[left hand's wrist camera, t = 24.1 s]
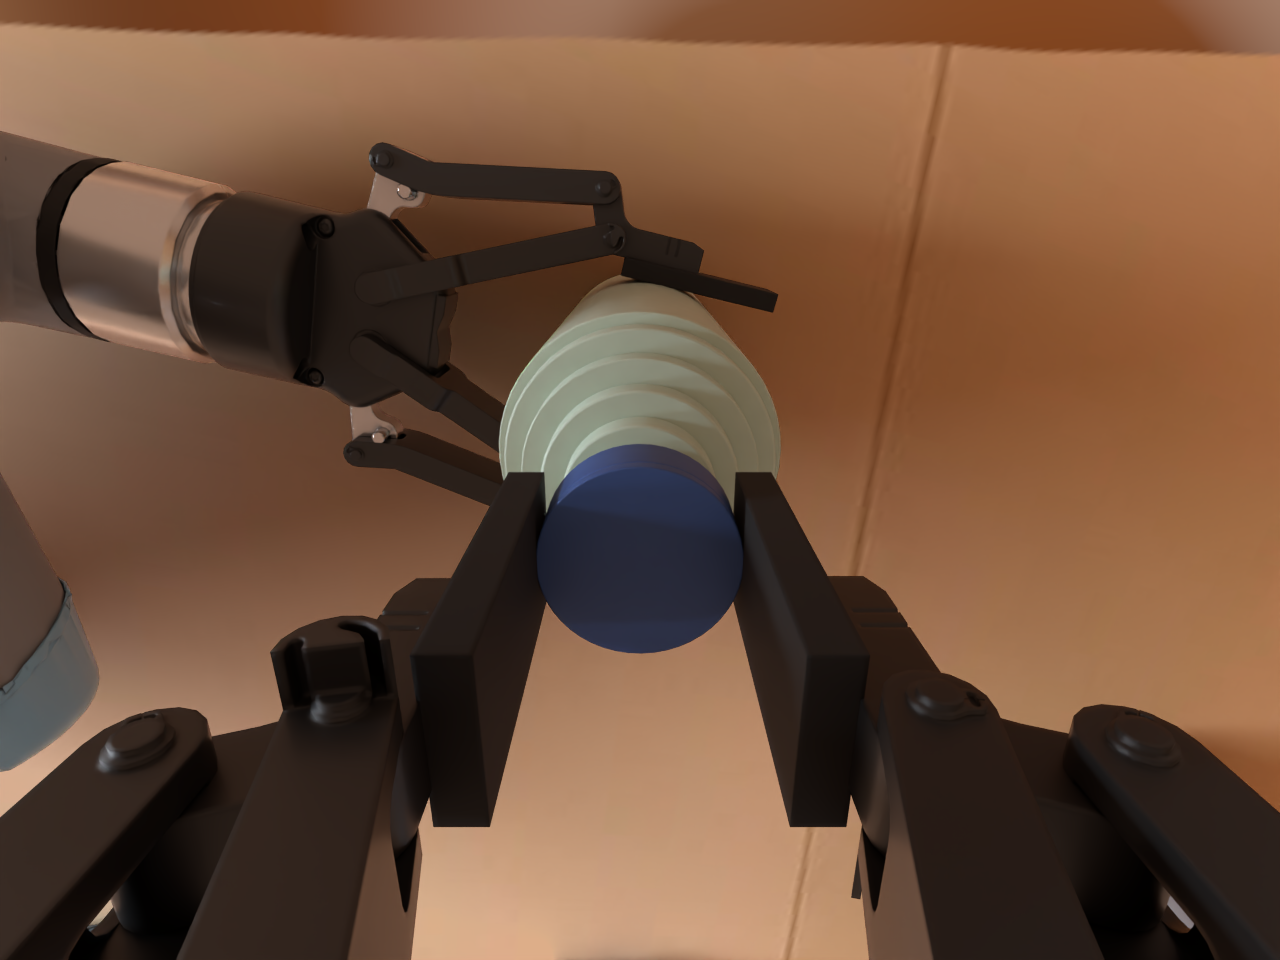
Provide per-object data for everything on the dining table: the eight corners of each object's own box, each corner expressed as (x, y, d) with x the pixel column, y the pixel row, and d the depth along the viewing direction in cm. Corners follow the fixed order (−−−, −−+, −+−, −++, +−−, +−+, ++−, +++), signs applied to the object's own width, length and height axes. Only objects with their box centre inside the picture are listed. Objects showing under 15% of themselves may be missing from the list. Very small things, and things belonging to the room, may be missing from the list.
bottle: (535, 368, 37) (371, 588, 14) (620, 239, 34) (585, 256, 12) (657, 451, 38) (681, 764, 16) (746, 332, 36) (921, 502, 14)
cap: (529, 593, 15) (517, 630, 14) (567, 422, 14) (559, 444, 12) (704, 631, 15) (710, 672, 14) (758, 468, 14) (772, 495, 13)
